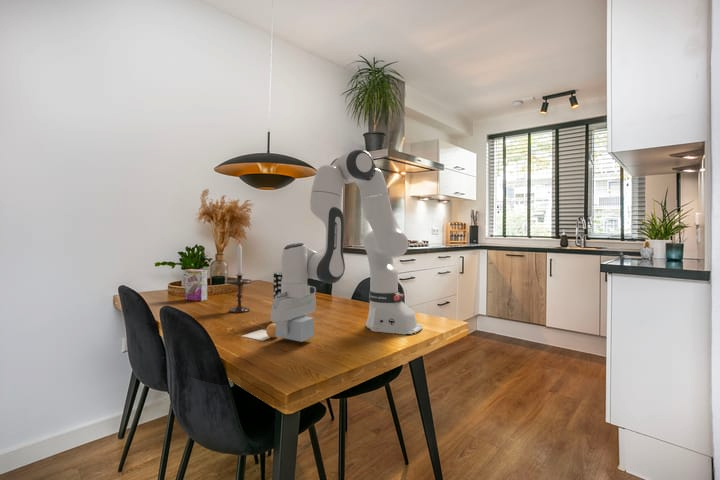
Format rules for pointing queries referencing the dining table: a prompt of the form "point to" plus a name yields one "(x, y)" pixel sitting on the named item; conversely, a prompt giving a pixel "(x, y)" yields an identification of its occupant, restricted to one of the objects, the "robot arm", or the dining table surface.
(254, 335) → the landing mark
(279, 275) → the white-spotted black cylinder
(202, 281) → the candy bar box
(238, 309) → the candlestick
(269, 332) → the ball
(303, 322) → the light grey rectangular block
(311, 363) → the dining table surface
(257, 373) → the dining table surface
